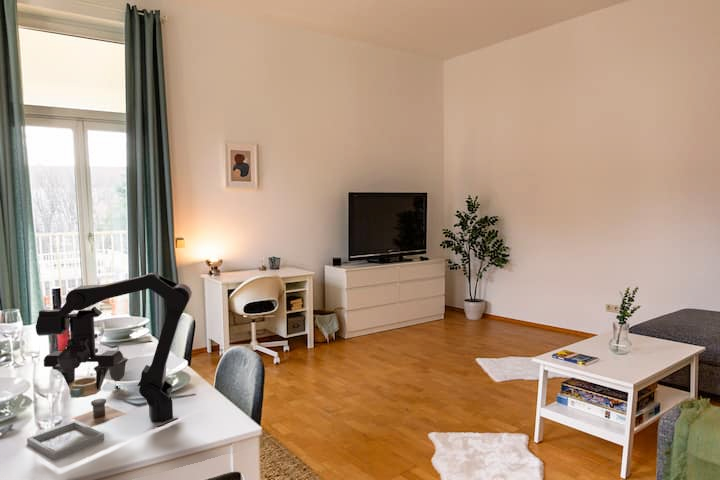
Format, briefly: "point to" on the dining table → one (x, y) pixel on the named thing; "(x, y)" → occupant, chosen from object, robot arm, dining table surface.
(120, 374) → the sundae
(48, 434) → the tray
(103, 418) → the wooden peg base
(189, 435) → the dining table surface
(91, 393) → the ring
